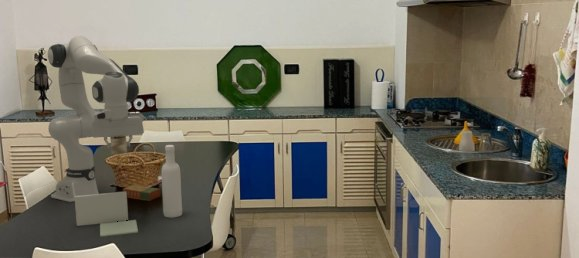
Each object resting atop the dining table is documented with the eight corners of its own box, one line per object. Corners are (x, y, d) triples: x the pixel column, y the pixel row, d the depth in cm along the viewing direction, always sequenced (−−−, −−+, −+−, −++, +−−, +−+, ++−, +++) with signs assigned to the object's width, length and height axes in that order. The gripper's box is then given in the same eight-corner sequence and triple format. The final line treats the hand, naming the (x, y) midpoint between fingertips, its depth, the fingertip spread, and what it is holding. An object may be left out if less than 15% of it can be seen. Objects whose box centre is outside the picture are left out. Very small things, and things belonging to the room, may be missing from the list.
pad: (100, 236, 223) (100, 235, 222) (100, 225, 236) (100, 223, 236) (137, 232, 227) (137, 231, 227) (135, 221, 240) (135, 219, 240)
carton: (134, 192, 282) (134, 184, 281) (161, 196, 275) (160, 188, 275) (122, 197, 275) (122, 188, 274) (150, 201, 268) (149, 192, 267)
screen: (76, 225, 235) (74, 197, 233) (77, 224, 237) (74, 196, 234) (128, 220, 241) (126, 192, 239) (128, 219, 243) (126, 191, 240)
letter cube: (111, 154, 232) (110, 139, 231) (111, 151, 238) (110, 136, 237) (127, 152, 234) (126, 138, 233) (126, 150, 239) (125, 135, 238)
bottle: (173, 210, 253) (170, 142, 248) (186, 213, 249) (183, 145, 243) (159, 215, 247) (155, 146, 241) (172, 219, 242) (169, 148, 237)
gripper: (142, 110, 239) (144, 143, 241) (90, 113, 233) (92, 147, 235) (143, 112, 233) (145, 146, 236) (89, 115, 227) (92, 150, 229)
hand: (118, 146), depth 235 cm, fingers closed on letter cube, 6 cm apart
